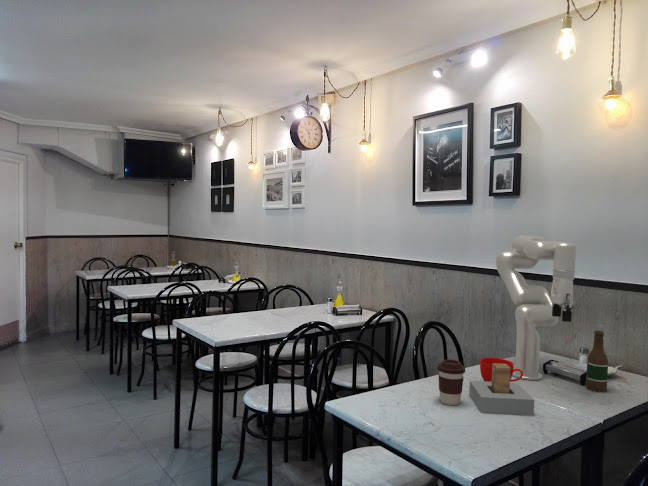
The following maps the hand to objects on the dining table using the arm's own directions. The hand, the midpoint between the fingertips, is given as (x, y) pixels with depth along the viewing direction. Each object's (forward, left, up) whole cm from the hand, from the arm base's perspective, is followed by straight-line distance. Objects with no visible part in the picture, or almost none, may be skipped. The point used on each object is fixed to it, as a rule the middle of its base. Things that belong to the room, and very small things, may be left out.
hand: (561, 318), depth 191 cm
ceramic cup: (-7, -20, -30) cm, 37 cm away
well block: (+13, -26, -30) cm, 42 cm away
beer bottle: (-10, +19, -30) cm, 37 cm away
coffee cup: (+13, -44, -30) cm, 55 cm away
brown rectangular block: (+13, -26, -30) cm, 41 cm away
